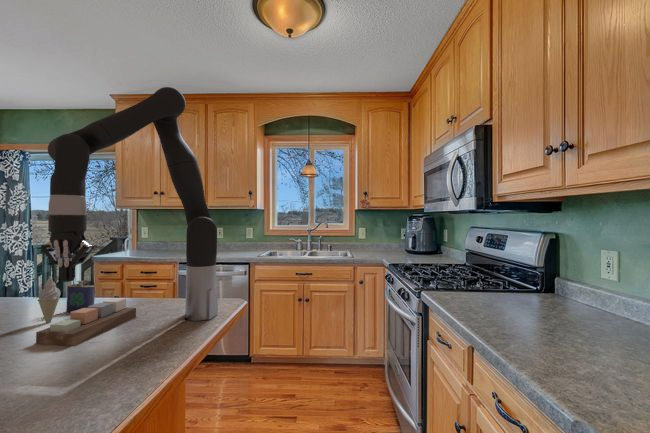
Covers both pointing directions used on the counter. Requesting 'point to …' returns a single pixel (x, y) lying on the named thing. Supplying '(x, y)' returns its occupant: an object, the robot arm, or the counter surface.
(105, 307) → the slate key
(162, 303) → the counter surface
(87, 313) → the terracotta key
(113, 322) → the brown wooden tray
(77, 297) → the flask
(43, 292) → the ice cream cone
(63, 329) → the sage key
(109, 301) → the ivory key
